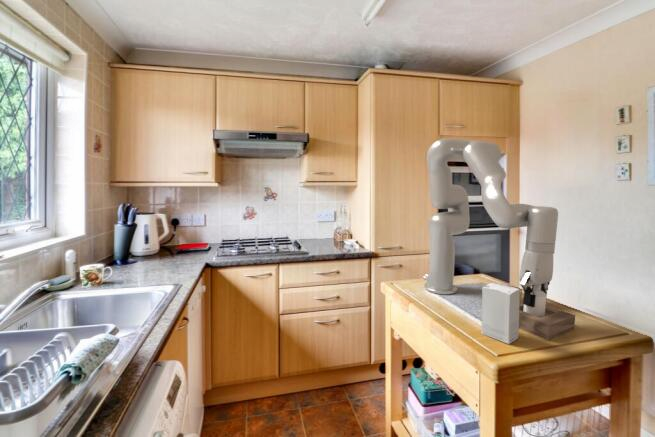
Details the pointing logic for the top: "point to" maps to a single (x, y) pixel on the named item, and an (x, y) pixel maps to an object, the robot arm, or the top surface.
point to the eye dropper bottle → (537, 303)
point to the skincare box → (500, 312)
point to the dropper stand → (546, 322)
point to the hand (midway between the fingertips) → (534, 303)
